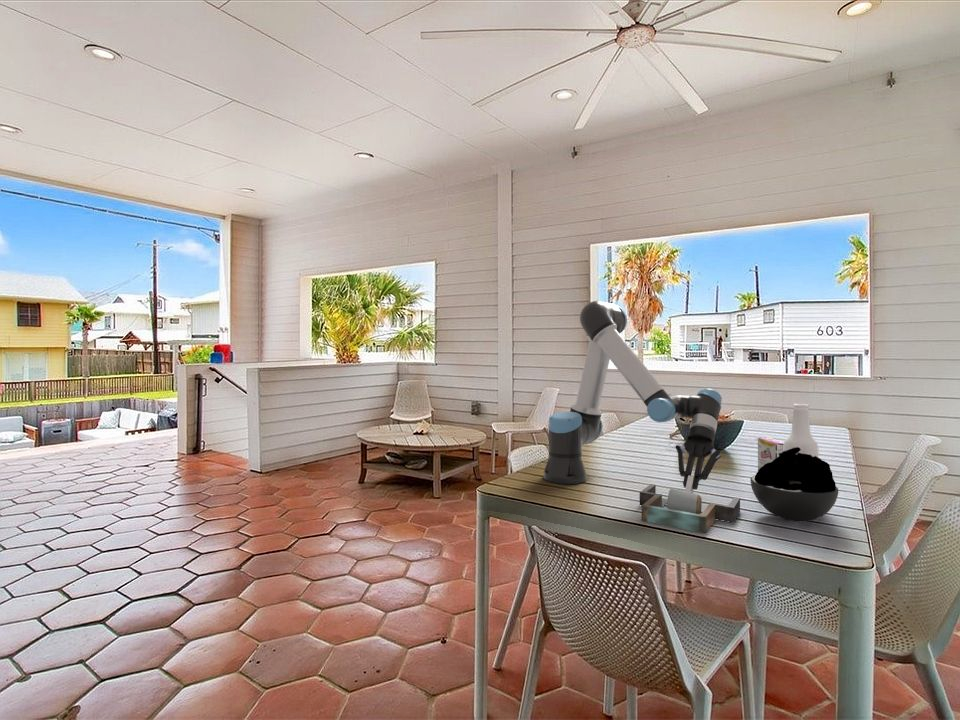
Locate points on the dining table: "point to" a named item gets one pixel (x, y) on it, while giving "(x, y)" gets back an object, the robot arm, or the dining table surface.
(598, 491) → the dining table surface
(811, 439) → the alcohol
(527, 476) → the dining table surface
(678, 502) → the grey cylinder
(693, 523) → the box
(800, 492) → the bowl of black rocks
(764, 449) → the candy bar box
